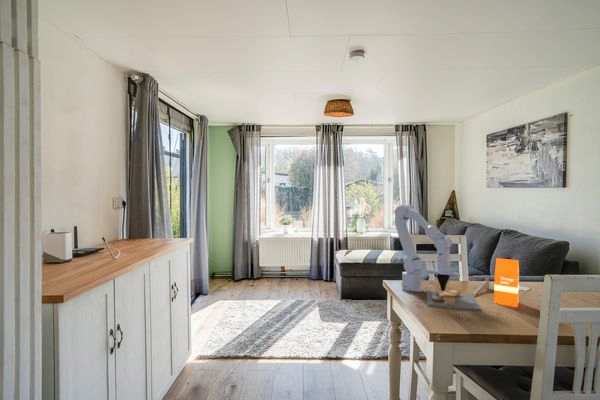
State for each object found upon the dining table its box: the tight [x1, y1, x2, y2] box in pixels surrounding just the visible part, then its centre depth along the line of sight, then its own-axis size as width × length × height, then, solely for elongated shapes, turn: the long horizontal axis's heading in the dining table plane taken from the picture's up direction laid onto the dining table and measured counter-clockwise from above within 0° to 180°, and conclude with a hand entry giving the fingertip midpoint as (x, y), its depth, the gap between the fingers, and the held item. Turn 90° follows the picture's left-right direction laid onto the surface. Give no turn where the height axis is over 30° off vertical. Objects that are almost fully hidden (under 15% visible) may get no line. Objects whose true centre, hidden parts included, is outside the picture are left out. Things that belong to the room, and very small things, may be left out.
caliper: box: [472, 276, 490, 297], centre depth 166 cm, size 20×1×6 cm, turn 132°
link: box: [432, 289, 461, 301], centre depth 154 cm, size 18×4×4 cm, turn 121°
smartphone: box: [519, 285, 532, 292], centre depth 176 cm, size 7×1×15 cm
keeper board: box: [425, 290, 482, 312], centre depth 153 cm, size 21×21×5 cm
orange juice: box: [493, 257, 520, 308], centre depth 150 cm, size 8×9×20 cm
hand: (443, 290), depth 159 cm, fingers closed
